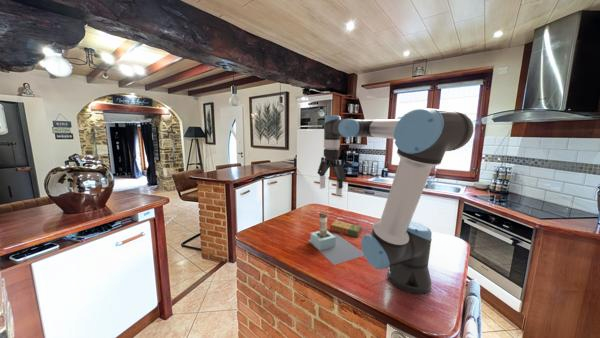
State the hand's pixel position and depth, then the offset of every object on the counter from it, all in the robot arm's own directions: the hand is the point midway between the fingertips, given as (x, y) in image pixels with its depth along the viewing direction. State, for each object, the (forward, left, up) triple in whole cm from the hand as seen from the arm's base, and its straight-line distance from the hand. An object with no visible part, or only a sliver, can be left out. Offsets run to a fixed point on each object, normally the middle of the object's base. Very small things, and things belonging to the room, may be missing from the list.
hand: (330, 191), depth 110 cm
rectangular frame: (-1, +4, -27) cm, 27 cm away
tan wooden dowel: (-1, +4, -27) cm, 27 cm away
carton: (+6, -16, -28) cm, 33 cm away
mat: (-6, 0, -27) cm, 28 cm away
